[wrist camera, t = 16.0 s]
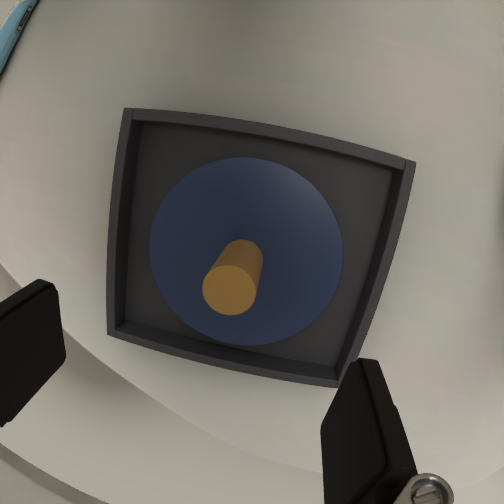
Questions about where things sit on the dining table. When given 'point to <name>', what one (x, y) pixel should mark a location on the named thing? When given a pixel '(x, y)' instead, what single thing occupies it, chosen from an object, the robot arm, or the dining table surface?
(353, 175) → the tray
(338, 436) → the robot arm
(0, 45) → the pen
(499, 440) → the dining table surface
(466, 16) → the dining table surface
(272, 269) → the tin lid
